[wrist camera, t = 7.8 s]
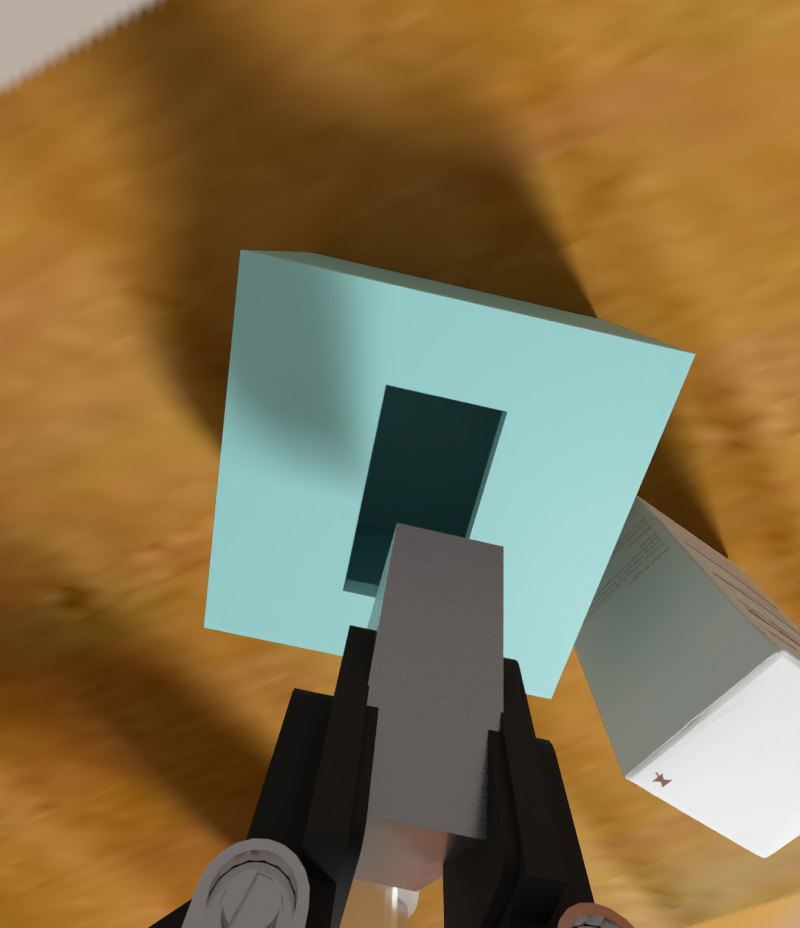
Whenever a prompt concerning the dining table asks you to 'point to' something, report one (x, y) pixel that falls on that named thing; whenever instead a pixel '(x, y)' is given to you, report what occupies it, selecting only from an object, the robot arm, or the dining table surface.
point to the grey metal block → (432, 704)
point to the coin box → (423, 448)
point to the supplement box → (697, 682)
